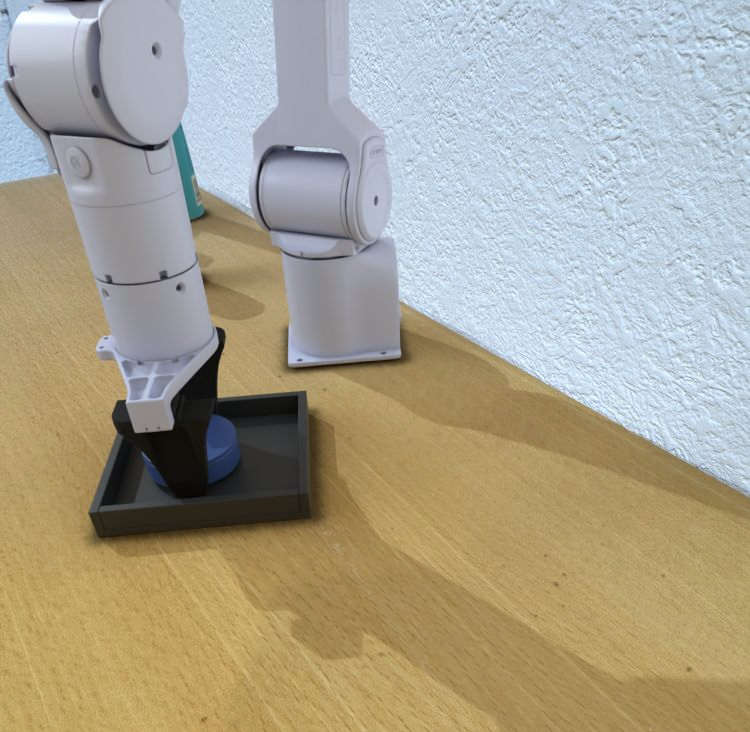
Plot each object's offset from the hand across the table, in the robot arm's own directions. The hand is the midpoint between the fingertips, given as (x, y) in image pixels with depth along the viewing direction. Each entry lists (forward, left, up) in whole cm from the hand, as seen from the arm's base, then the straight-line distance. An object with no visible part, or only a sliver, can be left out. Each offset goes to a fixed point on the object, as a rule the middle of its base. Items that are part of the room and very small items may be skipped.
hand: (197, 462), depth 47 cm
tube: (+8, -57, -1) cm, 58 cm away
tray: (-1, 0, -1) cm, 1 cm away
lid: (0, 0, +2) cm, 2 cm away
